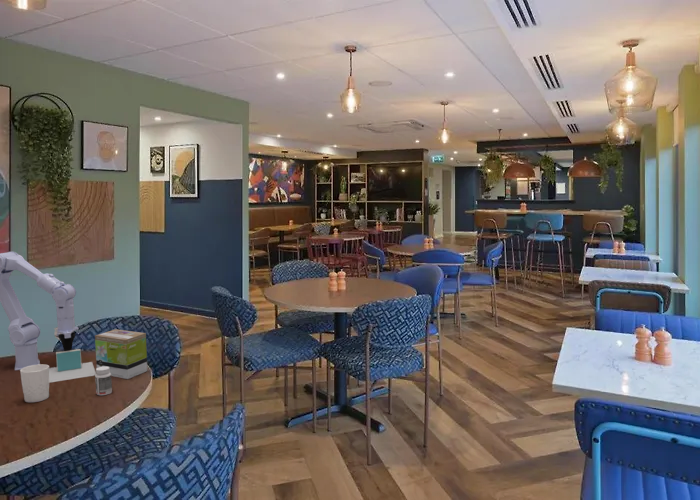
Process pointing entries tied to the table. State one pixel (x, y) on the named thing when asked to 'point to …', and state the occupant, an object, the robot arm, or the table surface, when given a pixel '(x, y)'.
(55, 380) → the mat
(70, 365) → the tile
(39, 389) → the white cup
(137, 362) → the tea box
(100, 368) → the pill bottle
